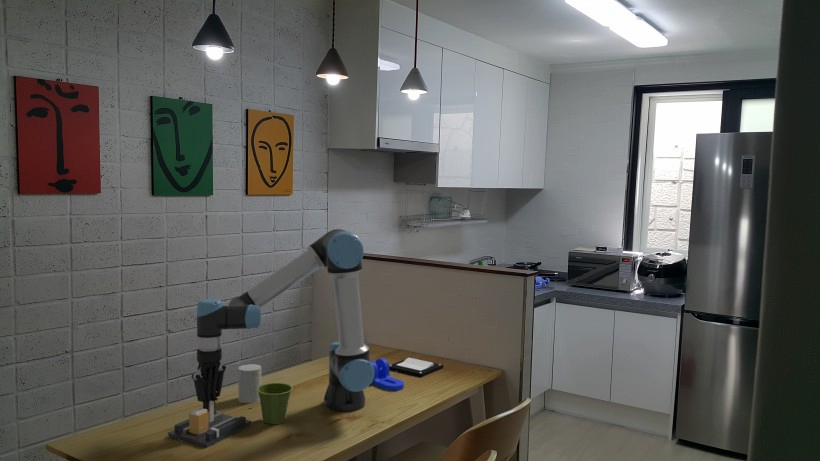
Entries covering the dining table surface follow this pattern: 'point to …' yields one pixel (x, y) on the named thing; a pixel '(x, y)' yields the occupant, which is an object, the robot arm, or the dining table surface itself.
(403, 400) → the dining table surface
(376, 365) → the bracket
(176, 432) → the panel
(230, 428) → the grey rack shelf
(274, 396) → the plant pot
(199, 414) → the orange white block
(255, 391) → the white cylinder
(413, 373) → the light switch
